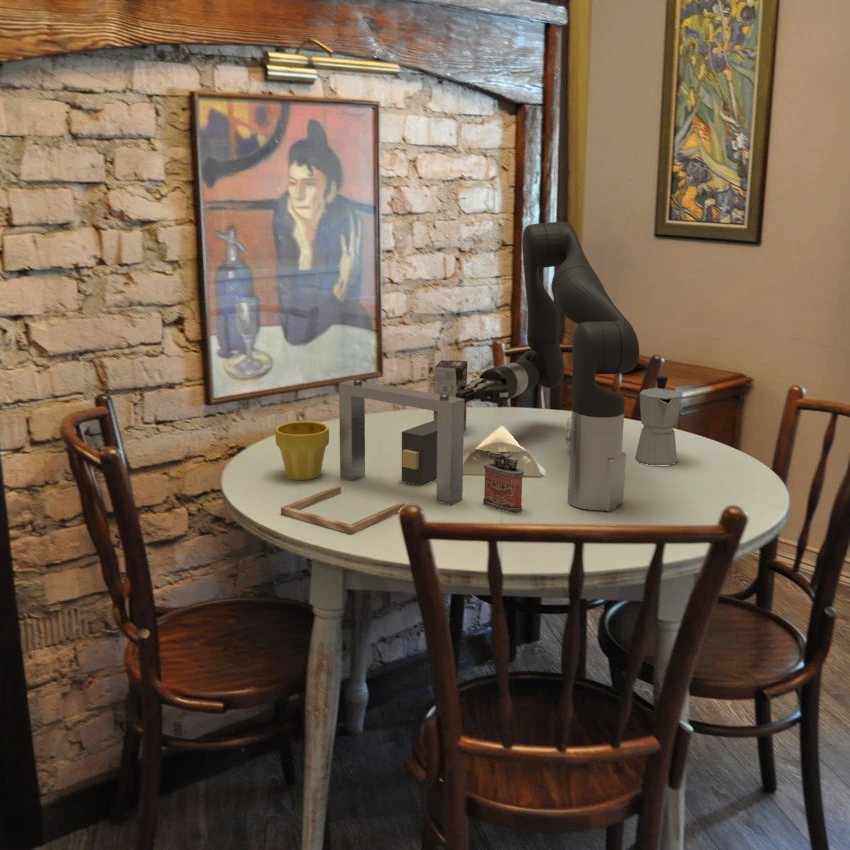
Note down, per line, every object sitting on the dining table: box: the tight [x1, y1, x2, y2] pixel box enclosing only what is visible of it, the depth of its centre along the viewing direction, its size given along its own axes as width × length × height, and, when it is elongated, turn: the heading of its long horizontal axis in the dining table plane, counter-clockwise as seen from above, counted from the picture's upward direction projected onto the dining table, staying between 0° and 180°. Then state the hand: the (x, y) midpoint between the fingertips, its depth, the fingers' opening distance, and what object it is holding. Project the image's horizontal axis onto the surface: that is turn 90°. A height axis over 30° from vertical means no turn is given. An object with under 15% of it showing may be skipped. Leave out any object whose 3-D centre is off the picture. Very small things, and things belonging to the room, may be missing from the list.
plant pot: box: [274, 420, 330, 481], centre depth 192 cm, size 10×10×10 cm
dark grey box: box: [401, 419, 438, 486], centre depth 192 cm, size 5×13×10 cm, turn 144°
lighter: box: [482, 450, 525, 514], centre depth 175 cm, size 8×3×10 cm, turn 48°
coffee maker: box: [634, 375, 683, 466], centre depth 204 cm, size 15×9×18 cm, turn 0°
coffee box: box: [433, 359, 468, 431], centre depth 223 cm, size 9×6×16 cm
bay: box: [280, 485, 406, 535], centre depth 173 cm, size 16×15×1 cm
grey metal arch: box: [338, 379, 465, 506], centre depth 183 cm, size 26×4×20 cm, turn 54°
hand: (459, 398), depth 198 cm, fingers closed
